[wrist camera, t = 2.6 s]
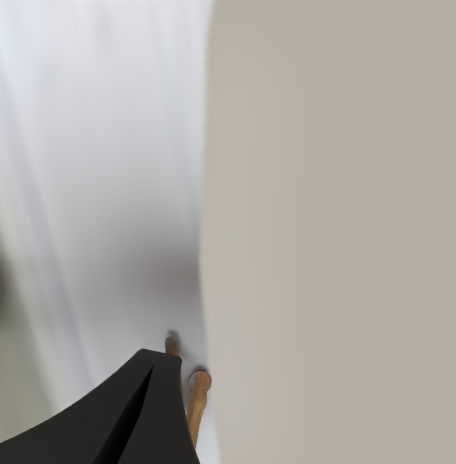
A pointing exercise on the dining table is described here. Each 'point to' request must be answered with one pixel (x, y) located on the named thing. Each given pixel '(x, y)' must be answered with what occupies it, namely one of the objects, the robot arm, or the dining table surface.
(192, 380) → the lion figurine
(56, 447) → the robot arm
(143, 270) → the dining table surface
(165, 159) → the dining table surface
